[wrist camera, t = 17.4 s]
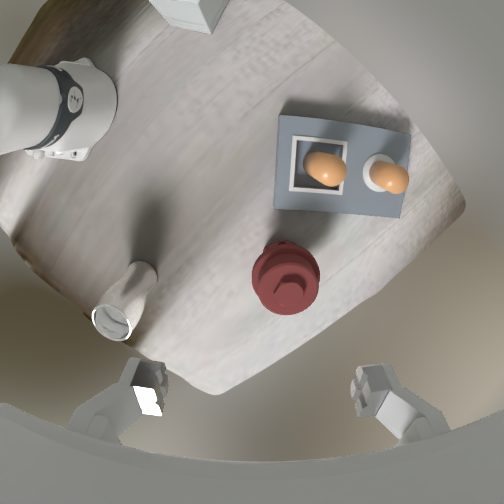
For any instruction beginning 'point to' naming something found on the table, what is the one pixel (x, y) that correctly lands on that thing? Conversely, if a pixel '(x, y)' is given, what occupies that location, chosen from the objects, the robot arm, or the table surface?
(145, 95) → the table surface
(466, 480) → the robot arm
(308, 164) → the orange smooth rounded part
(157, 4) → the supplement box
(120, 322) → the beer glass
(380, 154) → the grey peg board
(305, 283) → the mechanical component
